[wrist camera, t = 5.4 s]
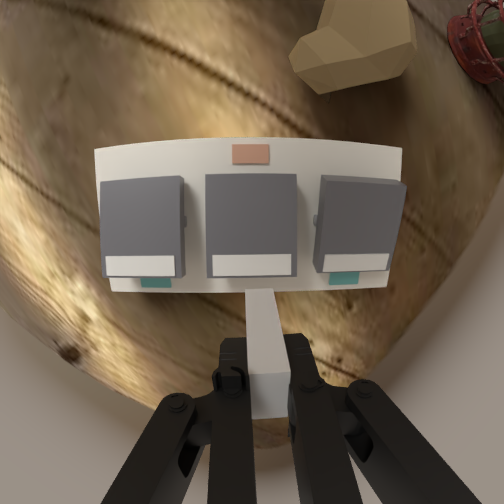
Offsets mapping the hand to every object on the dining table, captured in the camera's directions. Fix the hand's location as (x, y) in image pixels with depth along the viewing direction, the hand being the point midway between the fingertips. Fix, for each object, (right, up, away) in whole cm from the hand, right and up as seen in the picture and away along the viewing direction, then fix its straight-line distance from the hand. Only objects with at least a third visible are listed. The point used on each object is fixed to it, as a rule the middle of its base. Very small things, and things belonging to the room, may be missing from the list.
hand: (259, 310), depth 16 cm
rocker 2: (+9, +5, +7) cm, 13 cm away
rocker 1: (-9, +5, +7) cm, 13 cm away
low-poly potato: (+8, +24, +9) cm, 27 cm away
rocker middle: (0, +5, +7) cm, 9 cm away
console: (-1, +8, +14) cm, 16 cm away
